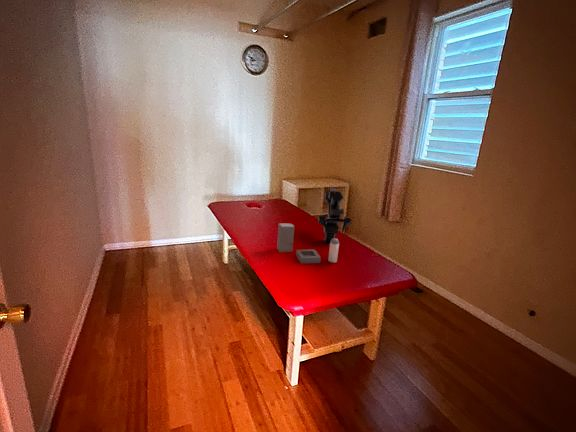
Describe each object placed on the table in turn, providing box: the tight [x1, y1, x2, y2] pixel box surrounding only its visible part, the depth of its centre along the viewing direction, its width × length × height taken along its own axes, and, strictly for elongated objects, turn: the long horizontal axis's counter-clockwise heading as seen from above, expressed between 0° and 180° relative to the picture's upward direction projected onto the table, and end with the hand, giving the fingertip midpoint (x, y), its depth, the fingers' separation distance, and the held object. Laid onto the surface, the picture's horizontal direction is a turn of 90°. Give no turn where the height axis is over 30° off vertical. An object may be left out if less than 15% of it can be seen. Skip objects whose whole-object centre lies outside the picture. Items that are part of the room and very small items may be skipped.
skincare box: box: [276, 222, 295, 253], centre depth 185 cm, size 8×7×16 cm
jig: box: [295, 248, 322, 264], centre depth 177 cm, size 11×11×3 cm
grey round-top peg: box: [327, 237, 340, 263], centre depth 175 cm, size 5×5×13 cm
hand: (334, 233), depth 181 cm, fingers open, 9 cm apart
